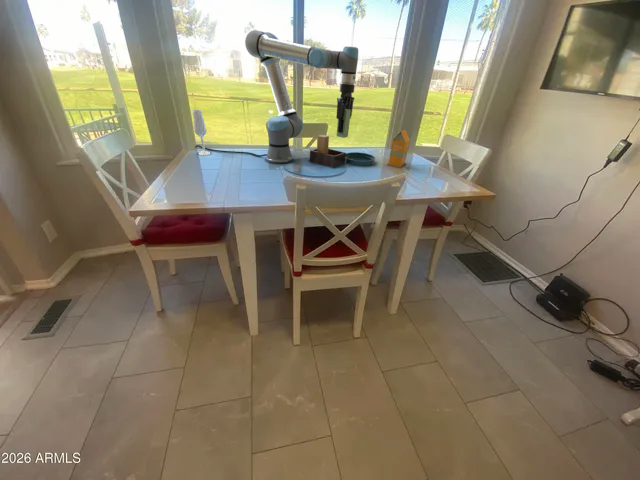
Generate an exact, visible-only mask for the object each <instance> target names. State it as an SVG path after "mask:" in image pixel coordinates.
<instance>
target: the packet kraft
mask: <svg viewBox="0 0 640 480" xmlns="http://www.w3.org/2000/svg"><path fill="white" fill-rule="evenodd" d="M329 144H330V136H329V135H325V134H319V135H317V145H316V148H317V152H321V153H325V154H328V148H329Z"/></svg>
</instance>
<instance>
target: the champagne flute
mask: <svg viewBox="0 0 640 480" xmlns="http://www.w3.org/2000/svg"><path fill="white" fill-rule="evenodd" d="M191 113H192V121H193V132H194V133H195V134H196V135H197V136H198V137H200V141H201V146H202V148H201V149H202V150H201V151H200V152H199V153H198V155H200V156H208V155H210V154H211V152H209V151H208V150H206V149H205V148H206V147H205V142H204V137H205V135H206V134H207V132H208V131H207V126H206V123H205V118H204V115H203V111H202V109H192V112H191Z"/></svg>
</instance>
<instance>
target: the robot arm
mask: <svg viewBox="0 0 640 480" xmlns="http://www.w3.org/2000/svg"><path fill="white" fill-rule="evenodd" d="M244 45H245V49H246V51H247V52H248V54H249V55H251V57H253V58H257V59H259V62H260V66H262V67H264V69H265V72H266V76H267V78H268V81H269V85H270V88H271V92H272V95H273V98H274V101H275V104H276V108H277V111H278V115H274V116H271V117H269V118H268V120H267V133H268V135H267V136H268V149H267V153H264V154H256V153H254V152H249V151H236V150H235V151H234V150H219V149H214V148H208V147H205V150H206V151H211V152H218V153H229V154H246V155H252V156H254V157H257V158H259V157H266V158H265V159H266V161H267V162H269V163H272V164H288V163H291V162H292V161H293V155H292V152H291V148H290V139H293V138H296V137H298V136H300V135H301V134H302V132H303V130H304V122H303V120H302V118H301V117H300V116H299V115H298V112H297V110H295V109H294V108H293V104H292V101H291V98H290V94H289V91H288V88H287V84H286V80H285V77H284V74H283V69H282V66H281V61H283V60H284V61H288V62H292V63H295V64H296V63H297V64H301V65H304V66H310V67H313V68H315V69H326V70H327V69H332V70H341V71H340V79H339V80H340V84H339V93H340V97H337V98H336V103H337V105H336V116H335V117H336V119H337V120H338V119H339V123H338V122H337V125H338V132H340V133H343V124H344V120H343V117H344V112H345V109H349V110H351V114H350V120H351V118H352V116H353V115H352V114H353V108H354V102H355V97H354V96H353V95H352V94H354V93H355V83H356V78H357V71H358V70H357V69H358V61H359V48H358V47H356V46H344V47H343V49H342V50H340V51H339V50H331V49H325V48H321V47H315V46H311V45H306V44H301V43H295V42H290V41H285V40H281V39H279V38H278V36H277V35H275V34H273V33H272V32H267V31H261V30H257V29H253V30H250V31H249V32H248V33H247V35H246V36H245V40H244ZM194 148H200V149H203V148H202V145H200V144H197V145H195V146H194Z"/></svg>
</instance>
